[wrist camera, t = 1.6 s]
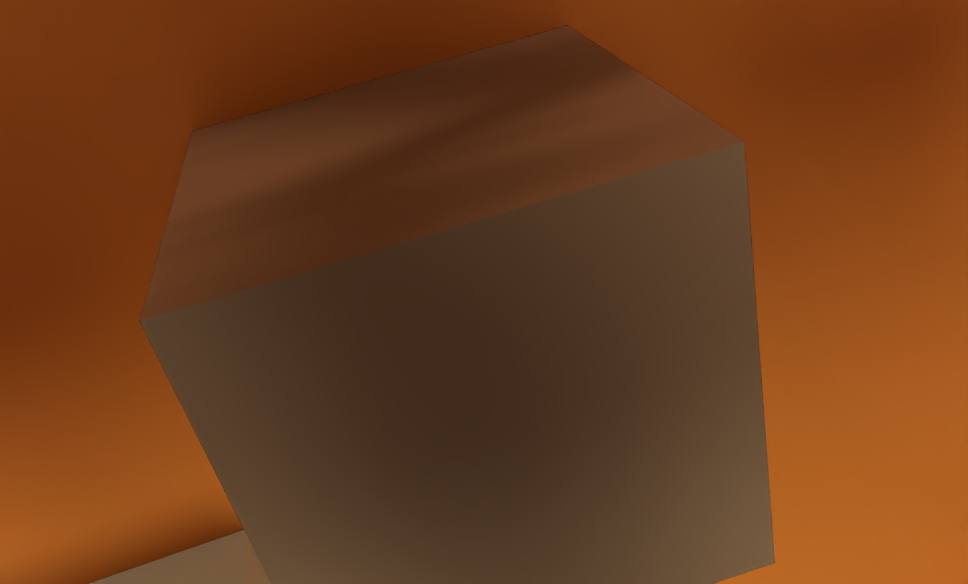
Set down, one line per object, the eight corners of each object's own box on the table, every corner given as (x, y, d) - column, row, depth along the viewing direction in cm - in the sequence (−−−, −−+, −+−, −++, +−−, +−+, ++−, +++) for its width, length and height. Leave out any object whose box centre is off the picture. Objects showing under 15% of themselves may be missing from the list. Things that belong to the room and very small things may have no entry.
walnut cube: (566, 24, 11) (744, 140, 7) (619, 335, 14) (774, 562, 10) (192, 129, 11) (139, 321, 7) (316, 429, 13) (335, 710, 9)
